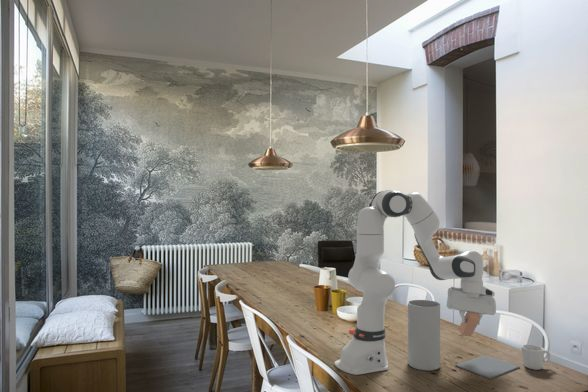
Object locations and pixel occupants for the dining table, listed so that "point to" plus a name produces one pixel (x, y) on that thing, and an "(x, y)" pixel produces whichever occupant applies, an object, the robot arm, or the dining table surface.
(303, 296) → the dining table surface
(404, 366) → the dining table surface
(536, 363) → the cup
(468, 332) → the terracotta block
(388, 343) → the dining table surface
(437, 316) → the cylinder vase
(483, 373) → the charcoal mat
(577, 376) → the dining table surface
